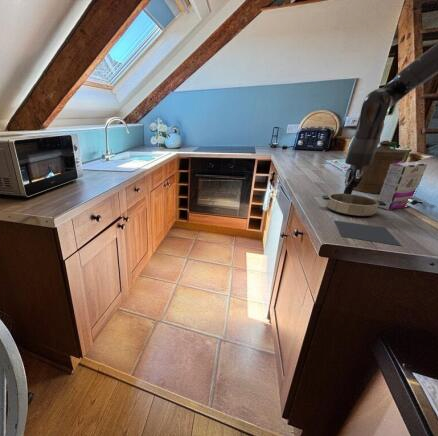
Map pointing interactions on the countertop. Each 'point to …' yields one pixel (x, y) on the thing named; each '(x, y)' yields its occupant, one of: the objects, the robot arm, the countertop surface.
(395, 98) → the robot arm
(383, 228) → the mat
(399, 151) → the wooden container
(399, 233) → the countertop surface
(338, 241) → the countertop surface
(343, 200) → the pan
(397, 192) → the candy bar box
